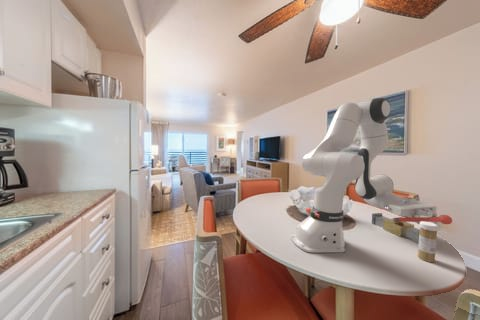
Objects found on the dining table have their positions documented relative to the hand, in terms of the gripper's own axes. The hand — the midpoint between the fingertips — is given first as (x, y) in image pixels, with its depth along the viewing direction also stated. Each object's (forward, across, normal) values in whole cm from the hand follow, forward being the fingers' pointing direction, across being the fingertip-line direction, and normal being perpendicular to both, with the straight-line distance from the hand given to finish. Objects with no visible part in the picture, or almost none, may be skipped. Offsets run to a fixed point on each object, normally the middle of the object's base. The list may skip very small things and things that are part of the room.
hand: (434, 215), depth 73 cm
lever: (-13, 0, +7) cm, 15 cm away
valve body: (-13, 0, +13) cm, 19 cm away
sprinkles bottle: (+6, -13, +14) cm, 20 cm away
